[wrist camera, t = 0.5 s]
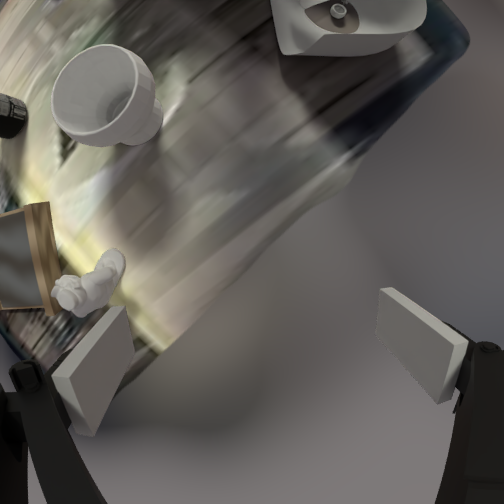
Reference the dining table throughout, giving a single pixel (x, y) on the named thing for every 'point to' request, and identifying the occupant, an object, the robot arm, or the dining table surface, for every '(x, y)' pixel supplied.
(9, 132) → the beverage can
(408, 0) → the bowl
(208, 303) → the dining table surface
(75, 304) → the figurine
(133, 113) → the cup
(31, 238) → the wooden tray
